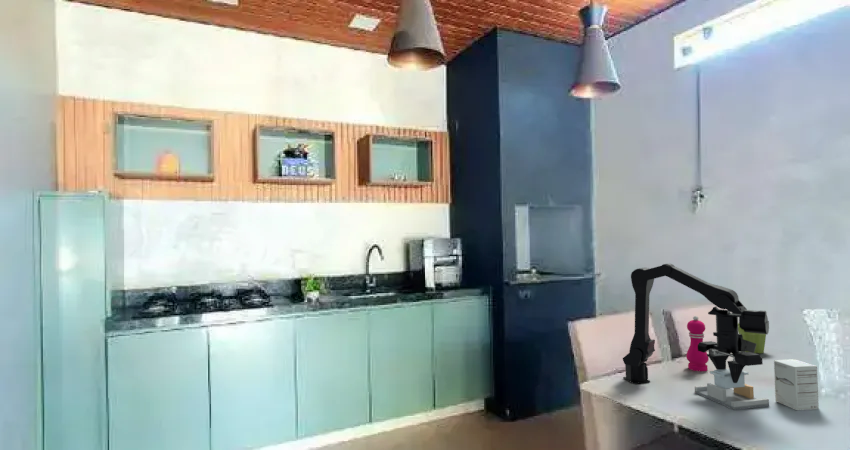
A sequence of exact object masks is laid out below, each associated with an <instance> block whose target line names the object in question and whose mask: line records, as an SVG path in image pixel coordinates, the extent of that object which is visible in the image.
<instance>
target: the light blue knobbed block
mask: <svg viewBox="0 0 850 450" xmlns="http://www.w3.org/2000/svg"><path fill="white" fill-rule="evenodd" d="M709 374H710V375H712V376H713V380H714V382H713V385H717V386H719V387H722V388H725V389H728V388H730V389H734V388H737V387H745V384H746V383H745V379H746V378H745V376H747V375H748V376H749V372H748V371H745V370H742V372H741V374H740V377H739V379H738V382H737V383H733V380H732V378H731V374H730V370H729V368H726V369H720V370H717V369H714V370H711V371H709Z"/></svg>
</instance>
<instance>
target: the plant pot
mask: <svg viewBox="0 0 850 450" xmlns="http://www.w3.org/2000/svg"><path fill="white" fill-rule="evenodd" d="M738 334H742V336H743V339H744V340H747V341H750V342H753V343H756V348H755V352H754V353H755V354H759V355H760V354H764V353H765V346H766V345H765V344H766V339H767V334H759V333H749V332H744V330H742V329H741V328H740V326H739V322H738ZM744 352H749V351H744Z"/></svg>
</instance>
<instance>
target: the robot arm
mask: <svg viewBox="0 0 850 450" xmlns="http://www.w3.org/2000/svg"><path fill="white" fill-rule="evenodd" d="M662 277H666V278H669V279H672V280H674V281H676V282H677V283H679V284H681V285H683V286H685V287H687V288H689V289H691V290H693V291H695V292H697V293H699V294H701V295H702V296H703V297H705V299H706V300H707V301H709V302H710V303H711V304H713V306H714V307H712V309H711V310H710V311H708V312H707V314H708V315H711V316H712V315H713V316H715V328H716V329H715V330H716V331H714V332H713V333H712V335H713V337H716V341H712V340H711V341H703V342H700V343H699V344H698V351H700V352H704V353H705V352H707V351H708V353H707V356H708V358H709V359H710V361H711V362H712V365H714V368H715V370H720V369H727V367H728V369H729V370H730V374H731V378H732V380H733V383H737V382H738V379H739V377H740V374H741V372H742V371H744V368H745V367H747V366H748V367H750V366H759V365H760V366H761V365H763V364H764V363H763V357H762V356H761V355H760V354H759V353H754V352H755V348H756V343H753V342H750V341H747V340H744V339H743V336H742V334H739V332H738V323H739V326H740V328H741V329H742V330H744V332H749V333H759V334H766V335H768V334H769V331H770V330H769V329H770V321H769V318H768V314H767V313H768V312H767V311H766V310H753V309H752V310H750V309H747V308H746V307H745V306H744V304H743V303H742V302H741V300H739V299H740V298H739V295H738V293H737V292H736V291H735V290H734V289H731V288H728V287H725V286H722V285H718V284H715V283H714V284H713V283H711V282H708V281H706V280H704V279H701V278H699V277H698V276H695V275H693V274H692V273H689V272H687V271H685V270H683V269H682V268H679V267H678V266H675V265H674V264H672V263H670V262H669V263H663V264H662V265H658V266H655V267H651V268H649V267H640V268H636V269H634V270H633V271H632V272H631V274H630V280H631V287H632V289H633V291H634V296H635V297H634V298H635V302H634V334H633V337H632V340H631V342H630V346H629V351H628V353H627V354H625V356H624V357H622V360H623V363H624V365H625V366H624V369H625V376H623V377H622V379H624V380H626V381H627V382H630V383H631V384H635V385H637V384H646V383H651V380H650V379H649V369H648V367H647V363H646V362H647V361H648V359H650V358H651V357H652V355H653V353H654V352H655V351H656V349H655V342H656V340H655V339H652V338H651V337H650V333H649V332H650V328H649V327H650V326H649V325H650V293H651V291H652V289H653V287H654V282H655V279H658V278H662ZM745 351H749V352H745ZM729 357H731V358H732V360H728V359H729ZM727 365H728V366H727Z"/></svg>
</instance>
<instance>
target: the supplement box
mask: <svg viewBox="0 0 850 450" xmlns="http://www.w3.org/2000/svg"><path fill="white" fill-rule="evenodd" d="M773 364H774V365H773V368H774V391H775V392H774V396H775V399H774V400H775V402H777V403H778V404H782V405H783V406H786V407H789V408H791V409H793V410H795V411H810V410H811V411H812V410H820V409H819V407H820V406H819V383H818V381H819V380H818V379H819V378H818V366H817V365H816V364H815V365H814V364H811V363H807V362H805V361H802V360H798V359H795V358H791V359H789V358H787V359H776V360H774V361H773Z"/></svg>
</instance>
